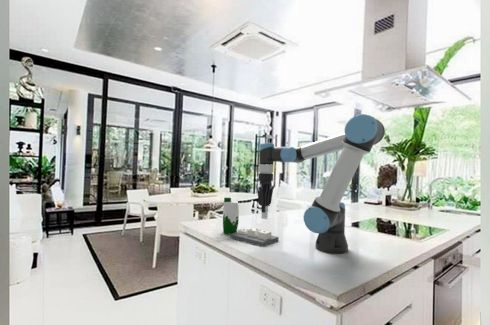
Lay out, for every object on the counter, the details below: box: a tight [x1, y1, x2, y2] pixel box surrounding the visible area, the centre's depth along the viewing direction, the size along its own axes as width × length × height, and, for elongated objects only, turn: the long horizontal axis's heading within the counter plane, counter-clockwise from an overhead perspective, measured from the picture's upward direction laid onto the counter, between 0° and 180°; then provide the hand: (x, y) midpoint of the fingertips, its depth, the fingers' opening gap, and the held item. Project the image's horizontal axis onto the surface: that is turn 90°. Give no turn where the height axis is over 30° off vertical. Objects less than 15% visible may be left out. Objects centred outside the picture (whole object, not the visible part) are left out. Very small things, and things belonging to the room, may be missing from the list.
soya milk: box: [222, 197, 240, 235], centre depth 160 cm, size 9×9×20 cm
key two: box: [246, 227, 262, 237], centre depth 146 cm, size 5×5×4 cm
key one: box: [258, 230, 272, 240], centre depth 141 cm, size 5×5×4 cm
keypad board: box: [229, 231, 279, 247], centre depth 146 cm, size 22×14×2 cm, turn 50°
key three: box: [237, 228, 247, 235], centre depth 150 cm, size 5×5×4 cm
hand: (264, 218), depth 142 cm, fingers closed
